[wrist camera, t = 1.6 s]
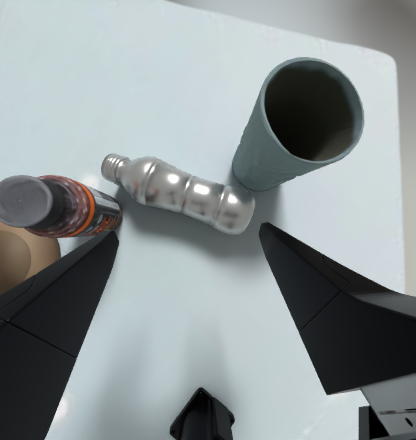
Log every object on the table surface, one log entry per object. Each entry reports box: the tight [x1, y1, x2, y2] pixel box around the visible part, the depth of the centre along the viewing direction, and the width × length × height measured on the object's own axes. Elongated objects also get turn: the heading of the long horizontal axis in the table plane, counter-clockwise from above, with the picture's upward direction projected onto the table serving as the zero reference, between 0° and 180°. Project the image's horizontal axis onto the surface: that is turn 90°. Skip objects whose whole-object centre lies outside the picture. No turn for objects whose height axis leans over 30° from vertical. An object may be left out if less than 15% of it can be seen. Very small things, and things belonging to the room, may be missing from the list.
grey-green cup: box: [233, 57, 364, 191], centre depth 19 cm, size 10×10×12 cm
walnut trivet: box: [0, 221, 61, 295], centre depth 20 cm, size 14×14×1 cm
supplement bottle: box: [0, 175, 122, 238], centre depth 17 cm, size 6×6×11 cm
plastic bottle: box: [101, 153, 255, 235], centre depth 21 cm, size 6×7×20 cm
